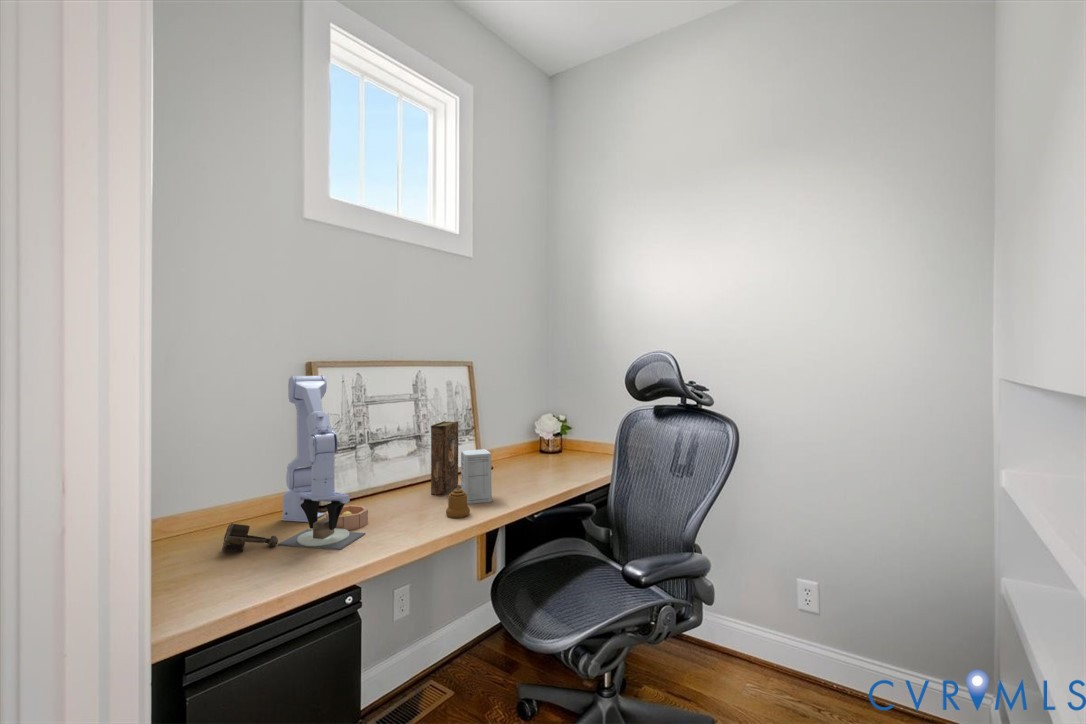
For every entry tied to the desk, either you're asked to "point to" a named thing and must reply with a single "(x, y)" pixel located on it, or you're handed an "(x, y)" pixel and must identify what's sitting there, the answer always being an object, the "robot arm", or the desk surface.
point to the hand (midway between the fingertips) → (323, 528)
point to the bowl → (352, 517)
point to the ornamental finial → (457, 504)
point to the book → (444, 457)
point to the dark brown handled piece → (243, 538)
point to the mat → (337, 546)
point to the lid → (322, 535)
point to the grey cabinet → (476, 475)
